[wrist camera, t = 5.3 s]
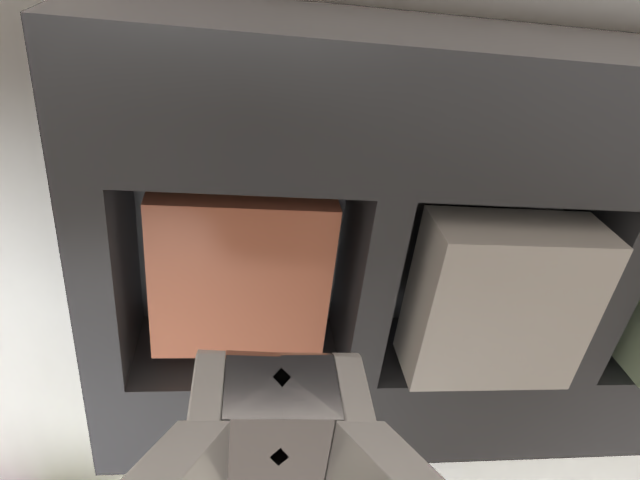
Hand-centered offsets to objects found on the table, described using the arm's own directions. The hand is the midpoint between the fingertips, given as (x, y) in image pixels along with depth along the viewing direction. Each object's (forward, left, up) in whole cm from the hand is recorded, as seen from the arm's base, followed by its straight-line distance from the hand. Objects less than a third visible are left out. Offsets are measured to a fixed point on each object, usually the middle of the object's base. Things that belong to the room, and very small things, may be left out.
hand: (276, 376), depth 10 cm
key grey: (-6, 0, -4) cm, 7 cm away
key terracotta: (+1, 0, -5) cm, 5 cm away
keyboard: (-6, 0, -8) cm, 10 cm away
